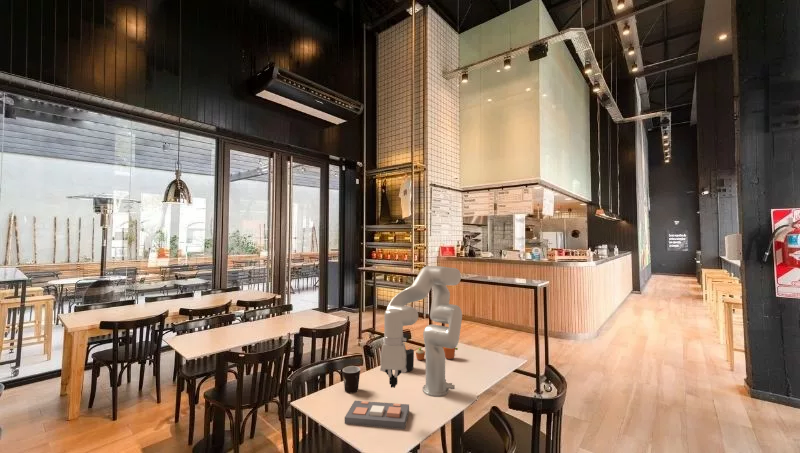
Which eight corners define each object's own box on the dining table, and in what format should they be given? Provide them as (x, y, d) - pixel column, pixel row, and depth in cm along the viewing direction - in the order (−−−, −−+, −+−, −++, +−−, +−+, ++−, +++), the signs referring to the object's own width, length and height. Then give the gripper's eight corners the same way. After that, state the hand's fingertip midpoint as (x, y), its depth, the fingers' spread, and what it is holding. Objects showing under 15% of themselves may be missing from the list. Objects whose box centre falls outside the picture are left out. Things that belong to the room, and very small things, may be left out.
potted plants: (444, 350, 224) (444, 335, 225) (460, 357, 211) (460, 341, 211) (411, 357, 210) (411, 342, 211) (426, 366, 197) (426, 349, 198)
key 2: (401, 412, 140) (401, 407, 140) (399, 418, 135) (399, 413, 135) (389, 411, 141) (389, 406, 141) (386, 417, 136) (386, 412, 136)
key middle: (384, 411, 141) (384, 406, 141) (381, 417, 136) (381, 412, 136) (372, 410, 142) (372, 405, 142) (369, 416, 137) (369, 411, 137)
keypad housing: (409, 411, 145) (409, 403, 146) (404, 430, 132) (404, 421, 132) (354, 407, 149) (354, 399, 149) (344, 425, 135) (344, 416, 135)
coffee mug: (343, 386, 170) (343, 366, 170) (360, 386, 171) (360, 365, 171) (341, 397, 158) (341, 375, 159) (359, 396, 159) (359, 375, 159)
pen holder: (404, 373, 186) (404, 354, 186) (394, 368, 193) (393, 350, 194) (417, 369, 192) (417, 351, 192) (406, 364, 199) (406, 347, 199)
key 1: (368, 412, 142) (367, 407, 142) (364, 419, 137) (364, 414, 137) (356, 411, 143) (356, 407, 143) (352, 418, 138) (352, 413, 138)
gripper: (412, 338, 141) (412, 383, 140) (377, 336, 144) (377, 381, 143) (410, 344, 134) (410, 391, 133) (373, 342, 136) (373, 389, 135)
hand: (393, 386), depth 138 cm, fingers closed
